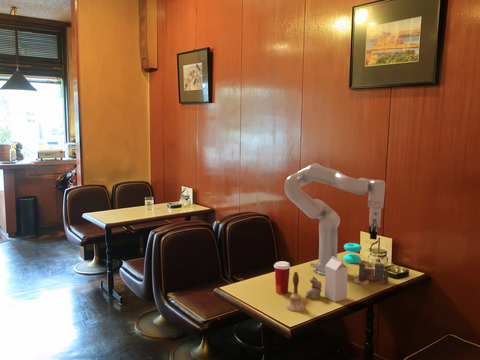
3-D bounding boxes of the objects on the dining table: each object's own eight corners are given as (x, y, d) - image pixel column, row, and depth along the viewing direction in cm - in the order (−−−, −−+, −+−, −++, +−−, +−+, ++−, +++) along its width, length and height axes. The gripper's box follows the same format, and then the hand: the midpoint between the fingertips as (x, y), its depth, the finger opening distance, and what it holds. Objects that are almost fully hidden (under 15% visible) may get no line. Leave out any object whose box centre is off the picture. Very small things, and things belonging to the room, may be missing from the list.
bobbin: (354, 284, 194) (355, 263, 193) (353, 279, 201) (354, 258, 199) (369, 285, 192) (370, 264, 191) (368, 280, 199) (368, 259, 198)
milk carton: (334, 302, 173) (336, 261, 171) (324, 296, 180) (325, 257, 177) (346, 299, 177) (348, 259, 174) (336, 293, 183) (337, 254, 181)
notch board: (359, 281, 197) (359, 270, 196) (358, 278, 202) (359, 266, 201) (388, 284, 194) (389, 272, 193) (387, 280, 199) (387, 269, 198)
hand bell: (283, 309, 167) (283, 273, 165) (290, 301, 174) (291, 267, 172) (300, 313, 163) (301, 277, 161) (308, 306, 170) (309, 271, 168)
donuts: (360, 242, 231) (362, 247, 221) (359, 258, 232) (362, 264, 222) (343, 242, 232) (344, 246, 223) (342, 258, 234) (344, 263, 224)
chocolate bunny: (323, 299, 177) (323, 278, 175) (305, 299, 177) (306, 278, 176) (320, 294, 182) (321, 273, 181) (304, 294, 182) (304, 273, 181)
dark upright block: (383, 279, 195) (384, 264, 194) (375, 278, 196) (375, 263, 195) (382, 276, 198) (383, 262, 197) (374, 276, 199) (375, 261, 198)
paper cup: (291, 289, 187) (291, 262, 185) (288, 296, 180) (288, 267, 178) (275, 287, 190) (276, 260, 188) (271, 294, 183) (272, 265, 181)
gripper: (384, 208, 188) (381, 242, 190) (382, 201, 204) (378, 233, 207) (368, 206, 190) (365, 240, 192) (367, 200, 206) (364, 231, 209)
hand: (372, 236), depth 200 cm, fingers open, 9 cm apart
